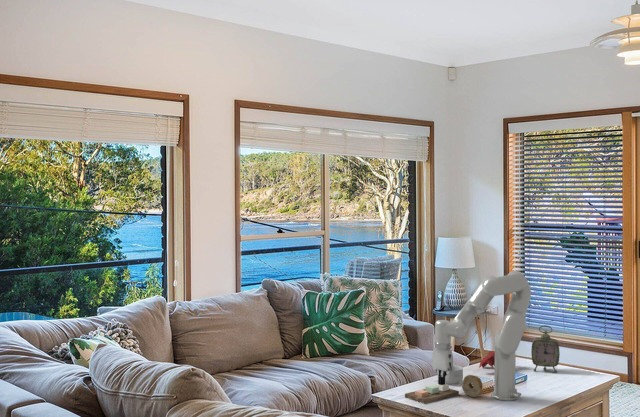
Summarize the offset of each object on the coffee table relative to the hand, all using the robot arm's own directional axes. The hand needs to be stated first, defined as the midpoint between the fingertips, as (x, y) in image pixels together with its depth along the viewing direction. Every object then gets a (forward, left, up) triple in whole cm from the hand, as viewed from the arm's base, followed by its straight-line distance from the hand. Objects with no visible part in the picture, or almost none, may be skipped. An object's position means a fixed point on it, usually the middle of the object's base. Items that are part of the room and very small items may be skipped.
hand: (441, 384), depth 335 cm
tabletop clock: (-2, -79, -5) cm, 79 cm away
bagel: (-11, -9, -5) cm, 15 cm away
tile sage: (0, +7, -3) cm, 7 cm away
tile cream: (0, 0, -3) cm, 3 cm away
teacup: (+11, -20, -5) cm, 23 cm away
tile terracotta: (0, +14, -4) cm, 14 cm away
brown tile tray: (0, +7, -5) cm, 8 cm away
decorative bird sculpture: (+17, -58, -5) cm, 61 cm away
